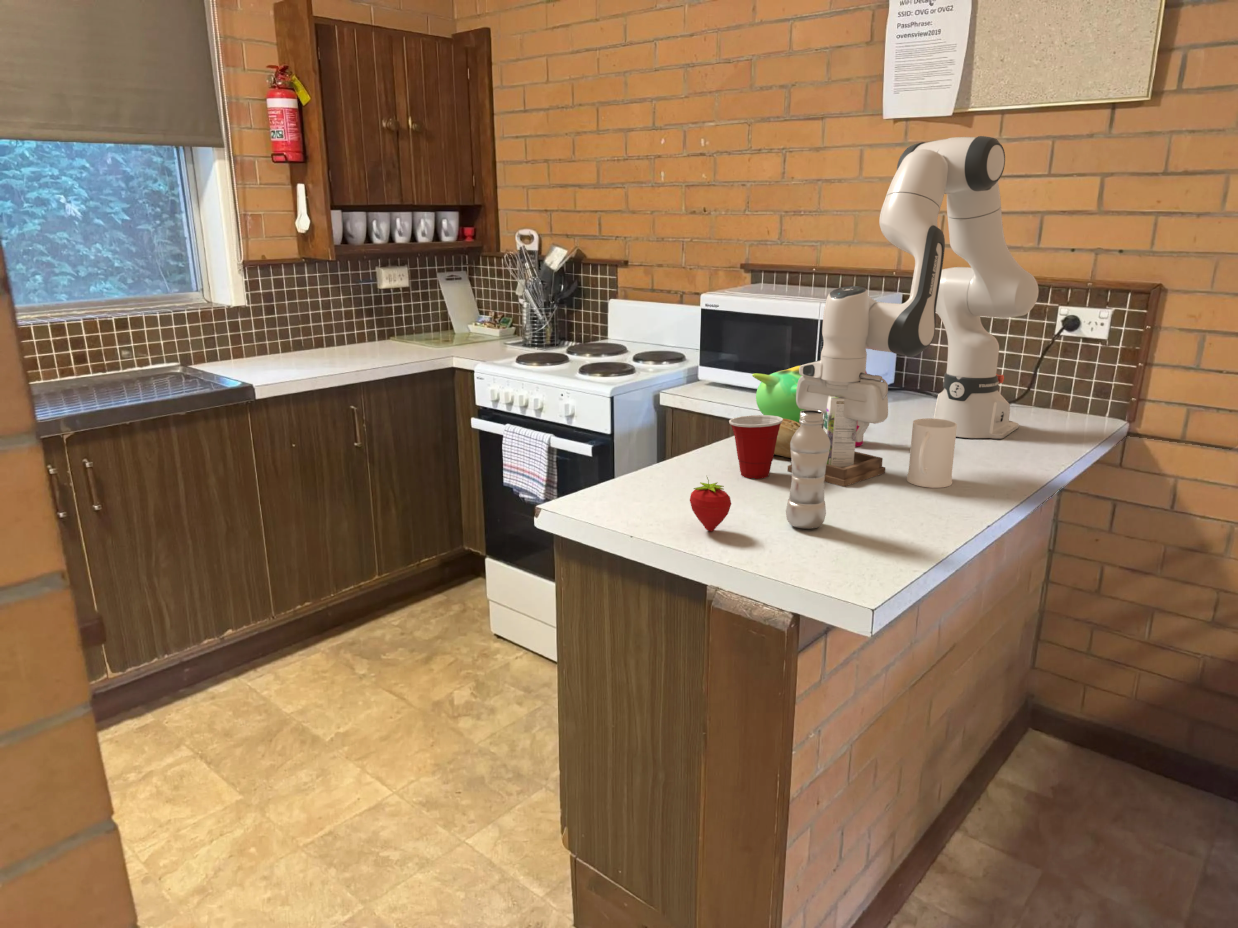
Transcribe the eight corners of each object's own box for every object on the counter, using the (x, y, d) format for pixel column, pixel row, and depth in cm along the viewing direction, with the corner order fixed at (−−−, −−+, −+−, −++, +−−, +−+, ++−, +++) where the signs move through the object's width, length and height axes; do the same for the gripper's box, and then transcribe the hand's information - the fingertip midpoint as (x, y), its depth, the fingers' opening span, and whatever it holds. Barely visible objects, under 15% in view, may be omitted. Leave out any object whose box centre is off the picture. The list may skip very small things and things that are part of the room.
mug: (936, 495, 157) (942, 433, 154) (892, 486, 163) (897, 426, 159) (958, 480, 166) (964, 422, 162) (916, 472, 171) (921, 415, 168)
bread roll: (756, 445, 194) (758, 411, 192) (818, 454, 186) (820, 419, 183) (738, 454, 186) (739, 419, 184) (801, 464, 178) (803, 428, 176)
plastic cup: (748, 464, 179) (750, 409, 175) (791, 474, 171) (793, 417, 168) (716, 475, 171) (717, 418, 168) (759, 486, 164) (761, 427, 160)
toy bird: (834, 421, 215) (838, 365, 210) (811, 435, 201) (815, 375, 197) (769, 414, 224) (771, 359, 220) (743, 427, 210) (745, 369, 206)
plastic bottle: (780, 520, 145) (785, 408, 139) (818, 519, 145) (825, 407, 140) (791, 534, 139) (796, 417, 133) (830, 532, 139) (838, 416, 134)
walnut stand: (829, 458, 182) (830, 444, 181) (884, 472, 171) (886, 458, 170) (787, 471, 173) (788, 456, 172) (843, 486, 163) (844, 471, 162)
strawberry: (715, 541, 136) (717, 483, 133) (681, 530, 141) (681, 474, 138) (738, 532, 140) (740, 475, 137) (703, 521, 145) (704, 466, 142)
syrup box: (820, 460, 175) (823, 392, 171) (848, 459, 174) (852, 391, 170) (825, 467, 169) (829, 397, 165) (855, 467, 169) (859, 397, 165)
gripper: (897, 374, 160) (892, 444, 164) (812, 362, 176) (809, 425, 180) (878, 379, 157) (873, 449, 160) (792, 365, 172) (790, 430, 176)
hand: (838, 437), depth 170 cm, fingers closed on syrup box, 7 cm apart
